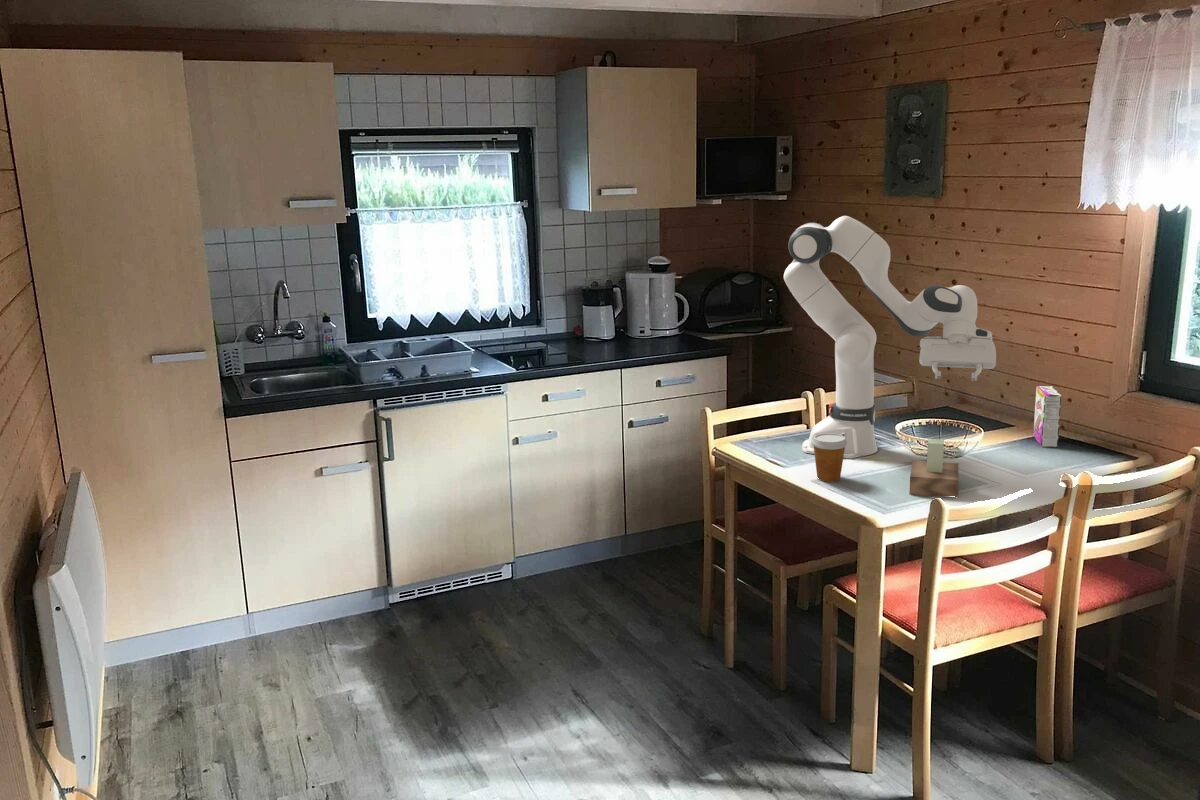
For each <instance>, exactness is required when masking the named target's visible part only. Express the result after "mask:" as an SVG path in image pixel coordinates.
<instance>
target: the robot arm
mask: <svg viewBox="0 0 1200 800" xmlns="http://www.w3.org/2000/svg"><path fill="white" fill-rule="evenodd" d="M787 245H788V246H787V248H788V252H789V254H790V256H791V257H792V259H793V260H792V262H791V263H790V264H788V266H787V267H786V268H785V270H784V273H783V280H784V282H785V284H786V286H787V288H788V290H789V292H790V293H791V294H792V296H793V297H794V299H795V300H796V301H797V303H798V304H799V305H800V307H801V308H802V309H803V310H804V311H805V312H806V313H807V315H808V316H809V317H810V318H811V319H812V321H813V323H815V325H817V326H819V327H820V328H821V329H822V330H823V331H824V332H825V333H826V334H828V335H829V336H830V338H832V339H833V340H834V361H835V362H834V363H835V385H836V386H835V402H834V401H830V403H829V405H828V416H827V417H824V418H823V419H822V420H820V421H819V422H817V423H816V424H815V425H814V426H813V427H812V428H811V431H810V434H809V438H807V439H804V441H803V442H802V445H801V450H802V452H803V453H806V454H811V455H815V453H814V446H813V443H812V440H813V438H814V436H815V435H817V434H822V433H834V434H840V435H843V436H844V437H845V439H846V441H847V444H846V446H845V450H844V457H843V459H857V458H859V457H864V456H871V455H873V454H875V453H877V452H878V446H877V443H876V438H875V437H876V436H875V425H874V424H875V420H876V419H875V418H876V408H875V404H874V394H875V391H874V389H875V385H874V384H875V376H874V375H875V374H874V373H875V369H874V368H875V367H874V366H875V365H874V363H875V362H874V361H875V359H874V356H875V355H874V353H875V346H876V343H877V333H876V331H875V328H874V327H873V326H872V325H871V324H870V323H869V321H868V320H867V319H865V317H864V316H863V315H862V314H861V313H860V312H858V310H857V309H856V308H854V307H853V305H852V304H850V303H849V302H848V301H847V299H846V298H845V297H844V296H843V295H842V294H841V293H840V291H839V290H838V289H837V288H836V287H835V286H834V284H833V283H832V281H830V279H829V278H828V277H827V275H825V274H824V272H823V271H822V269H821V267H820V262H821V260H822V259H823V257H826V256H827V255H828V254H829V253H835V254H838V255H839V256H841V258H843V259H844V260H846V262H848V263H849V264H850V265H852V267H854V268H855V270H857V272H858V274H859V275H860V277H861V281H862V283H863V285H864V286H865V288H866V289H867V290H868V291H869V292H870V293H871V294H872V295H873V297H874V298H876V299H877V301H878V302H880V304H881V305H882V306H883V307H884V308H885V309H886V310H887V311H888V312H889V313H890V314H891V315H892V316H893V318H895V320H896V322H897V323H898V324H899V326H900V327H901V329H902V330H903V331H904V332H905V333H907V334H908V335H910V336H913V337H917V338H919V337H921V339H920V340H919V348H920V352H919V364H920V365H921V366H923V367H931V370H932V371H933V373H934V379H936V380H937V379H938V380H940V379H942V378H941V377H942V371H941V370H938V368H939V367H942V368H962V369H967V368H968V369H976V370H975V371H974V372H971V377H970V381H971V382H973V381H974V382H975V381H976V382H977V381H978V376H979V375H980V374H982V370H983V369H984V370H986V369H987V370H988V369H989V370H992V369H994V368H995V367H996V366H997V349H996V345H995V343H994V341H993V333H992V331H990V330H987V329H983V328H980V327H977V325H976V321H977V318H978V298H977V295H976V293H975V291H974V290H973V289H972V288H971V287H969V286H967V285H964V284H963V285H962V284H960V285H959V284H958V285H953V286H949V287H946V286H943V285H940V284H929V285H928V286H926V287H925V288H924V289H923V290H921V292H920V293H919V294H918V295H917V296H916V297H915V298H914V299H913V300H912V301H909V300H907V298H906V297H905V296H904V295H902V293H901V292H900V291H898V289H897V288H896V287H895V286H894V285H893V284H892V283H891V282H890V279H889V276H888V275H889V274H888V272H889V266H890V262H891V248H890V246H889V244H888V243H887V241H886V240H885V239H883V238H882V236H880V235H879V234H878V233H876V232H875V231H874V230H873V229H871V228H870V227H869V226H867V225H866V224H864V223H863V222H861V221H859V220H858V219H855V218H853V217H851V216H848V215H842V216H840V217H838V218H836V219H835V220H833V221H832V223H831V224H830V225H829V226H825V225H823V224H822V223H820V222H816V221H813V222H807V223H805V224H802V225H800V226H798V227H797V228H796V229H795V230H794V231H793V232H792V234H791V235H790V237H789V240H788V244H787ZM939 323H940V324H942V326H943V327H942V336H937V335H936V336H933V335H932V336H930V335H929V333H931V331H932V330H933V329H934V328H935V326H936V325H938V324H939Z"/></svg>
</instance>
